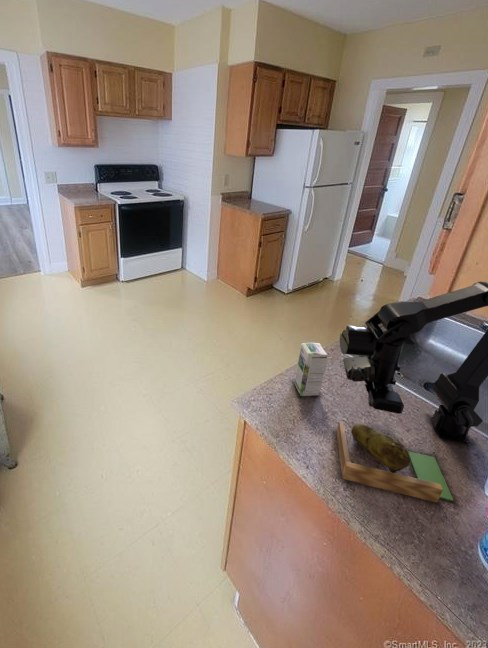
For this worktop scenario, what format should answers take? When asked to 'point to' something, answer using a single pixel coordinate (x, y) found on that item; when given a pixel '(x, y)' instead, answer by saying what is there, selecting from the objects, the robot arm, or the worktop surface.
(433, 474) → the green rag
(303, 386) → the syrup box
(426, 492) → the corner guard
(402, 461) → the olive green tapered piece
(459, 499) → the worktop surface
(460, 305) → the robot arm
